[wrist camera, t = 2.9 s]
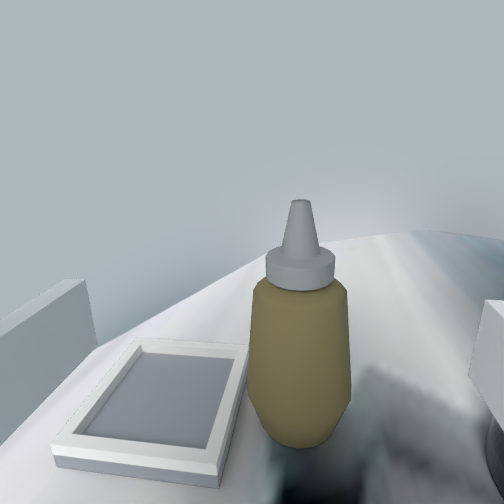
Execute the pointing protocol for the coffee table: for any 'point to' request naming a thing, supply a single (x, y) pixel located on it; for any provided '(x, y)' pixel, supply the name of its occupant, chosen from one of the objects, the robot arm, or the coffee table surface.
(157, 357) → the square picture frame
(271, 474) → the coffee table surface
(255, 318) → the squeeze bottle
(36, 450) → the coffee table surface
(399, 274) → the coffee table surface
